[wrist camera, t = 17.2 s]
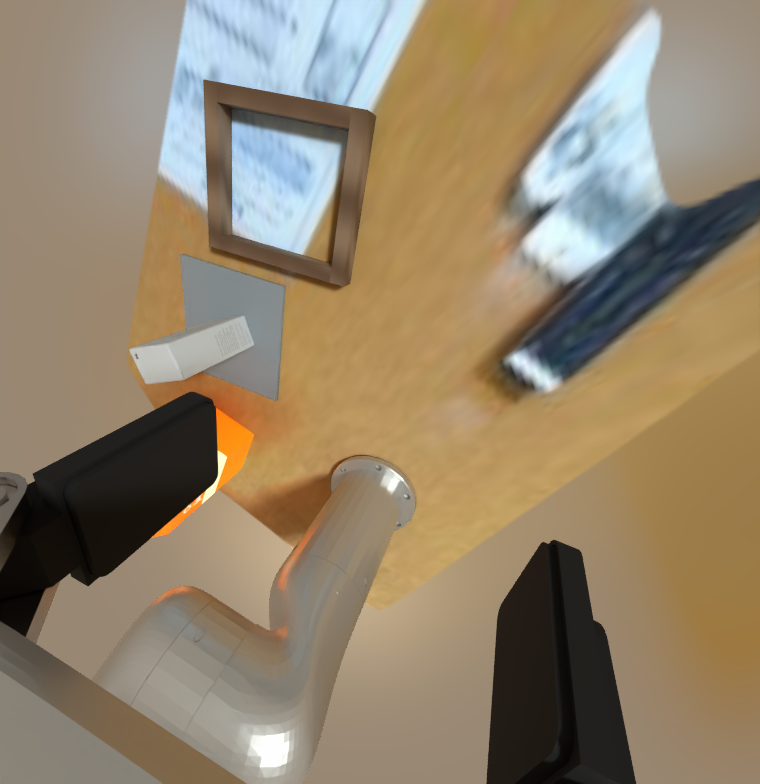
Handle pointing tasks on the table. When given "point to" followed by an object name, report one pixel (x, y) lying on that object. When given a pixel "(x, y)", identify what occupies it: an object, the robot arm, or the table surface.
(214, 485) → the orange juice
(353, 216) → the brown square frame
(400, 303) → the table surface
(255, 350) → the rubber mat
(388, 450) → the table surface
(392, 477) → the robot arm
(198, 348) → the skincare box
